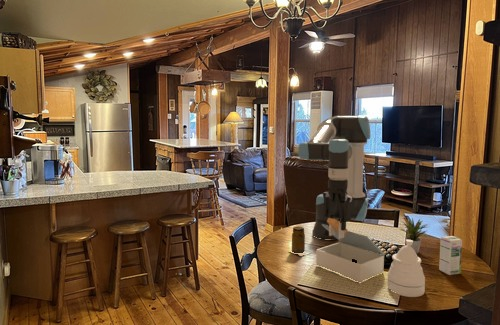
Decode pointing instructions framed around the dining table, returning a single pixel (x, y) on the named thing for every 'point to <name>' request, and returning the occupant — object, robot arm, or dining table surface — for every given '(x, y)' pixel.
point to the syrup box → (450, 255)
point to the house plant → (414, 234)
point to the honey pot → (406, 273)
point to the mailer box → (350, 261)
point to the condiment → (298, 240)
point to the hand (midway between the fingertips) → (336, 236)
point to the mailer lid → (353, 238)
